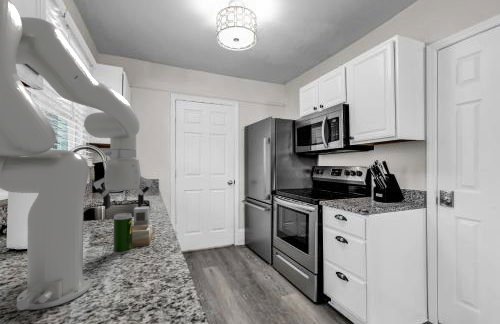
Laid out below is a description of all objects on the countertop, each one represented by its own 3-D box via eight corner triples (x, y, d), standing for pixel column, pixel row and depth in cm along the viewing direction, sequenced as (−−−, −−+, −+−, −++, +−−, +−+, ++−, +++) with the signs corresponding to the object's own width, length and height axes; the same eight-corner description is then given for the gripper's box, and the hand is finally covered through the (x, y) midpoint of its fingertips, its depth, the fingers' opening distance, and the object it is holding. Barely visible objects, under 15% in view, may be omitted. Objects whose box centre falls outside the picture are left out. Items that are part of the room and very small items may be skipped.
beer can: (114, 255, 74) (114, 217, 74) (112, 250, 79) (112, 214, 79) (133, 252, 77) (133, 215, 77) (130, 247, 82) (131, 212, 82)
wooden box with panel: (149, 245, 84) (149, 213, 84) (120, 247, 82) (121, 215, 82) (154, 232, 99) (154, 206, 99) (130, 234, 97) (130, 207, 97)
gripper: (89, 155, 73) (89, 211, 73) (150, 155, 77) (150, 208, 78) (97, 155, 80) (98, 206, 80) (153, 155, 84) (153, 203, 85)
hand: (124, 207), depth 79 cm, fingers open, 9 cm apart
